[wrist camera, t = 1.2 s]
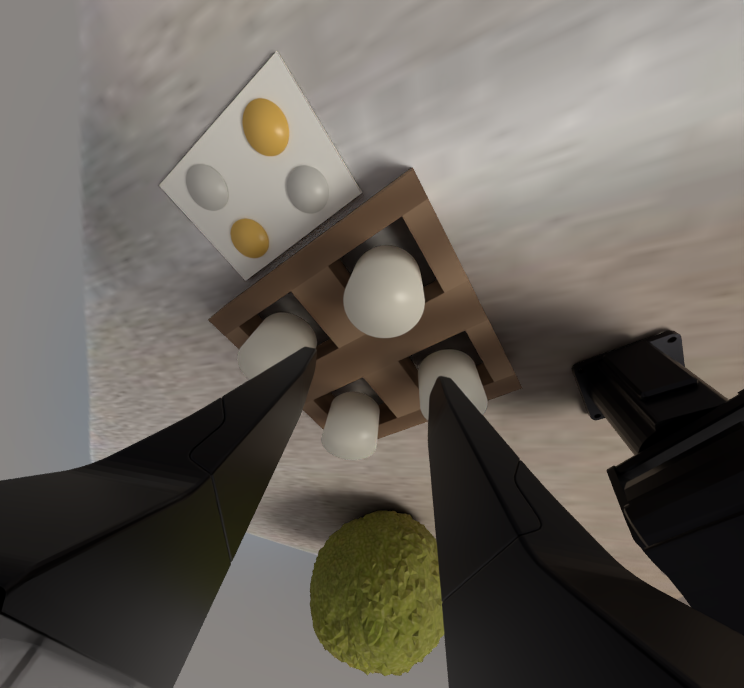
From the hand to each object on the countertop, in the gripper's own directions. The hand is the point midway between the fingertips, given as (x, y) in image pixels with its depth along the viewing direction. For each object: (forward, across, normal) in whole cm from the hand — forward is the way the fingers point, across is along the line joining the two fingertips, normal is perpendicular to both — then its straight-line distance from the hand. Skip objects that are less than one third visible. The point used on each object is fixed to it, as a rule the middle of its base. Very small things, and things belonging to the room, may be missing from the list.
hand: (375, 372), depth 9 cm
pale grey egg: (+9, -6, +6) cm, 12 cm away
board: (+11, 0, +6) cm, 12 cm away
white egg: (+9, 0, 0) cm, 9 cm away
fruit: (+11, -7, +34) cm, 37 cm away
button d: (+8, +6, +6) cm, 12 cm away
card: (+11, +8, -3) cm, 14 cm away
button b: (+8, 0, +11) cm, 14 cm away
